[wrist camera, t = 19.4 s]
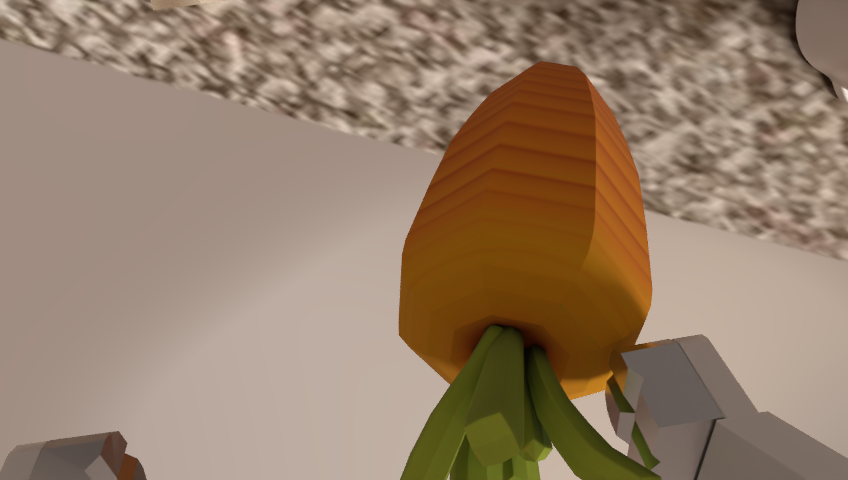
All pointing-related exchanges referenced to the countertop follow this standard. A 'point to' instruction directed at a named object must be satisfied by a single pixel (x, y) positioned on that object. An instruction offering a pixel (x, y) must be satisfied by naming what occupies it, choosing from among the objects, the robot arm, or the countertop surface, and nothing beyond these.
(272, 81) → the countertop surface
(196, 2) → the wooden frame
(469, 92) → the countertop surface
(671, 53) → the countertop surface
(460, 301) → the carrot
